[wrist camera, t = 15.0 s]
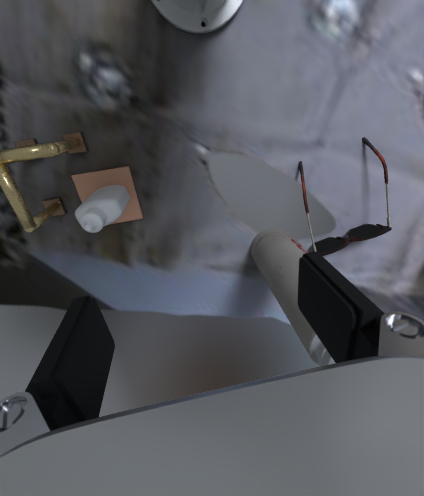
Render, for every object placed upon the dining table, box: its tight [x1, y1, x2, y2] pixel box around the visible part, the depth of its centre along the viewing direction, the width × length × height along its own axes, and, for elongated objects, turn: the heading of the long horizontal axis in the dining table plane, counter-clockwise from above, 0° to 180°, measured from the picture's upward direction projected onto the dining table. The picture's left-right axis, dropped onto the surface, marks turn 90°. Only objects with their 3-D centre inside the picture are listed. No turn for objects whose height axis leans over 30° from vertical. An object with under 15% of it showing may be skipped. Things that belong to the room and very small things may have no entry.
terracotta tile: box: [72, 166, 143, 225], centre depth 38 cm, size 8×8×1 cm
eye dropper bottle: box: [75, 185, 130, 233], centre depth 33 cm, size 4×6×12 cm
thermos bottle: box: [251, 228, 335, 366], centre depth 35 cm, size 8×8×28 cm
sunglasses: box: [299, 137, 391, 256], centre depth 43 cm, size 14×16×5 cm
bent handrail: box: [0, 132, 88, 233], centre depth 32 cm, size 10×8×9 cm
